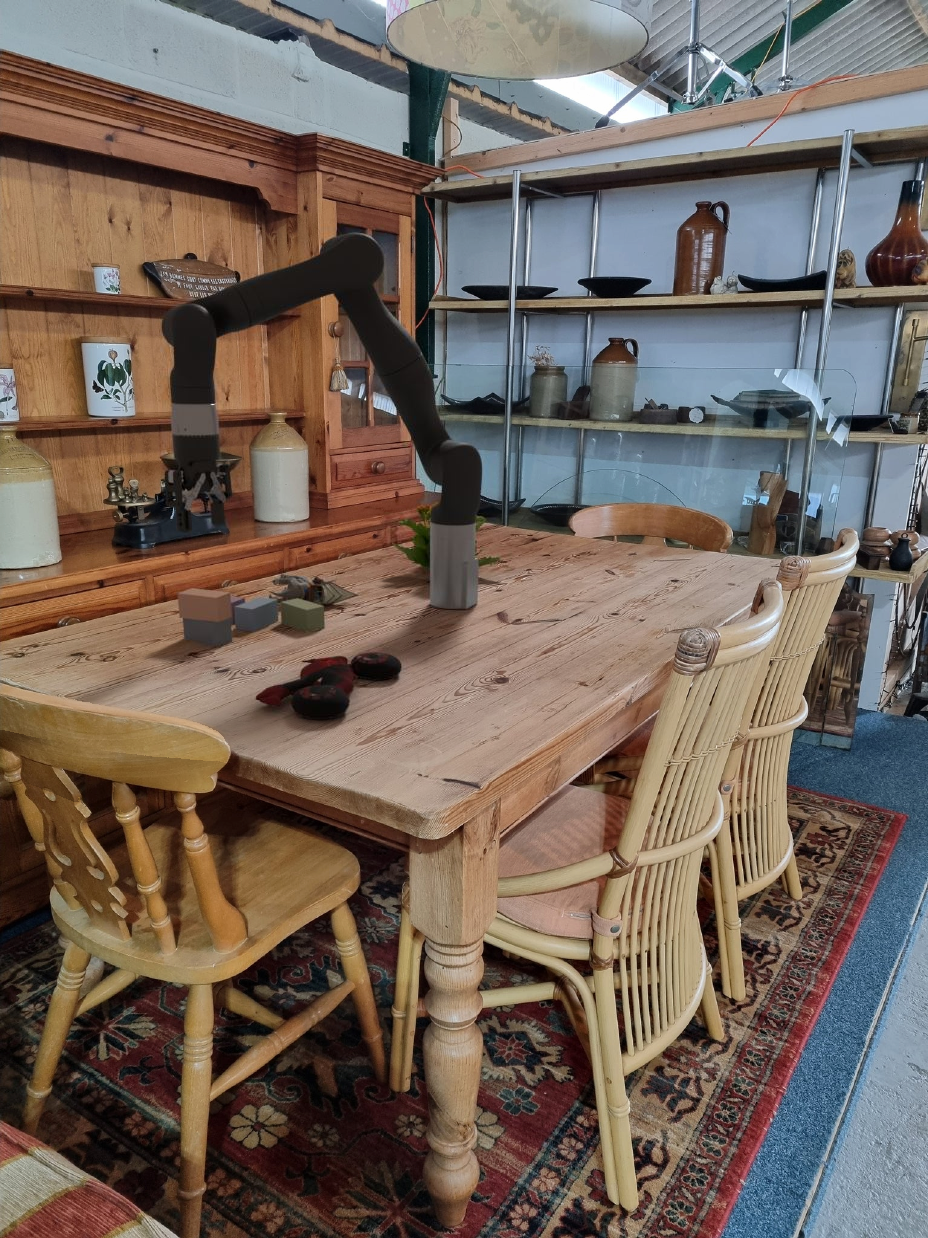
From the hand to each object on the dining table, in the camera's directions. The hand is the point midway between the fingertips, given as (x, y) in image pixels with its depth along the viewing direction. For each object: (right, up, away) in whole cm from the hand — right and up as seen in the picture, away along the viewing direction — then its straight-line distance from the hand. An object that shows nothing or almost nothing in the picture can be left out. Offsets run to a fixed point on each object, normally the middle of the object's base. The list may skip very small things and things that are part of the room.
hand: (202, 528), depth 149 cm
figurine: (+14, -13, +32) cm, 37 cm away
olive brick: (+15, -17, +15) cm, 27 cm away
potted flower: (+42, -5, +58) cm, 72 cm away
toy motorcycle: (+24, -27, -18) cm, 40 cm away
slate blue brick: (+6, -17, +15) cm, 23 cm away
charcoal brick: (0, -19, +5) cm, 20 cm away
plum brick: (-2, -16, +18) cm, 24 cm away
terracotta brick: (-1, -15, +4) cm, 16 cm away
